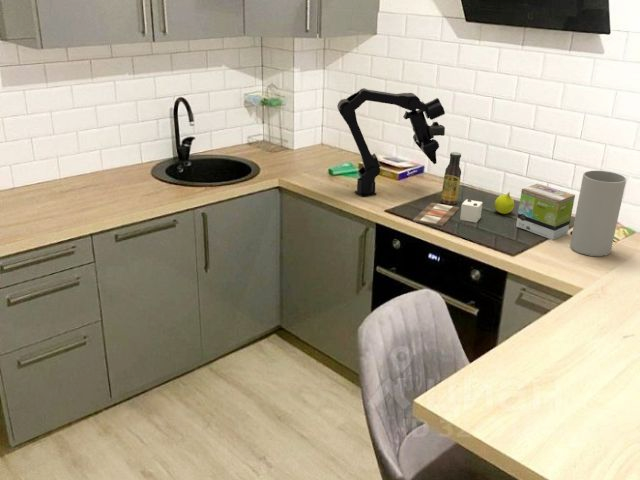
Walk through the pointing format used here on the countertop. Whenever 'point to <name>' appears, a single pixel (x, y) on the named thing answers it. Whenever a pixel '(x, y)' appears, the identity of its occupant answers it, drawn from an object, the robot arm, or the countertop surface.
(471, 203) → the die
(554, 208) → the tea box
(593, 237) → the cylinder vase
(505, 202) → the yellow-green round fruit
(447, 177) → the sauce bottle
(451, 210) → the walnut board
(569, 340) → the countertop surface
